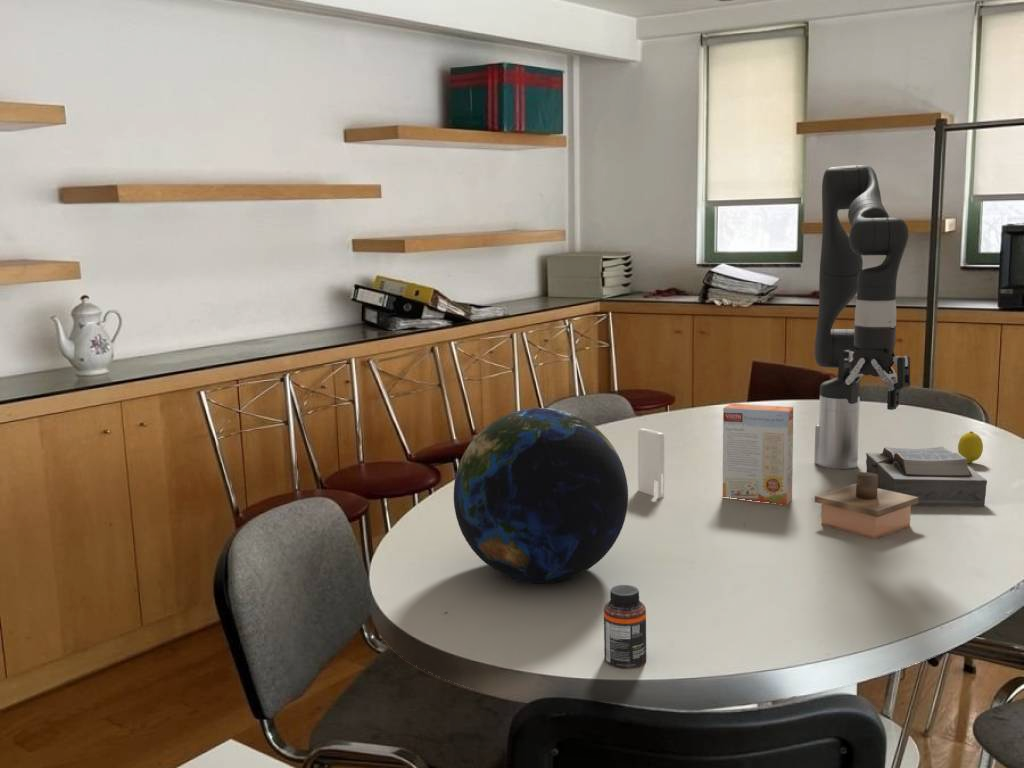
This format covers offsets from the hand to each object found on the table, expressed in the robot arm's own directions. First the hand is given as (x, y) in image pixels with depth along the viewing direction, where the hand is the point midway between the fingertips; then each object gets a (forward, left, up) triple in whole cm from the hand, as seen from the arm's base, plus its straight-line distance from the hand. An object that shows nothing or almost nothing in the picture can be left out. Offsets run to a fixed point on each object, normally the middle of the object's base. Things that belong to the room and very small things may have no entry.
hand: (872, 406), depth 204 cm
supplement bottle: (+14, -80, -25) cm, 85 cm away
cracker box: (-26, -1, -25) cm, 36 cm away
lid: (0, 0, -19) cm, 19 cm away
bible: (-7, +31, -25) cm, 40 cm away
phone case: (-44, -16, -25) cm, 53 cm away
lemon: (-12, +62, -25) cm, 68 cm away
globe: (-21, -66, -25) cm, 74 cm away
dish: (0, 0, -24) cm, 24 cm away
